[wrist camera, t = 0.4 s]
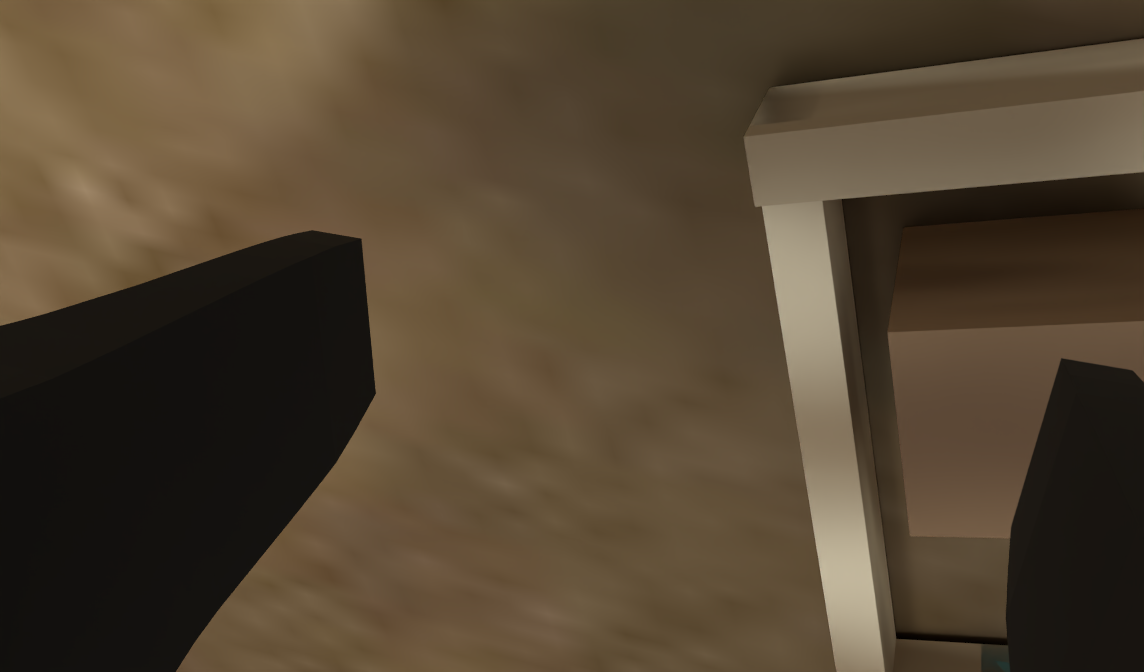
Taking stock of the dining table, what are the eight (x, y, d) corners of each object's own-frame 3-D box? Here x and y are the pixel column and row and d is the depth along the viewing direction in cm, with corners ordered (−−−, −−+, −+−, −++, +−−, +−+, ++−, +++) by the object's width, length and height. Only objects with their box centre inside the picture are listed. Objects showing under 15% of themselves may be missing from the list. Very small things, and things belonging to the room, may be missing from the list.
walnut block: (1145, 403, 20) (1175, 542, 17) (921, 407, 22) (910, 536, 19) (1148, 206, 19) (1181, 319, 15) (903, 225, 20) (887, 332, 17)
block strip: (1251, 730, 23) (1294, 906, 20) (860, 698, 26) (841, 845, 23) (1303, 17, 16) (1381, 105, 13) (769, 87, 19) (725, 172, 16)
